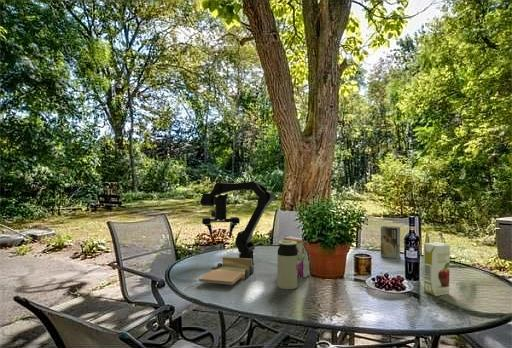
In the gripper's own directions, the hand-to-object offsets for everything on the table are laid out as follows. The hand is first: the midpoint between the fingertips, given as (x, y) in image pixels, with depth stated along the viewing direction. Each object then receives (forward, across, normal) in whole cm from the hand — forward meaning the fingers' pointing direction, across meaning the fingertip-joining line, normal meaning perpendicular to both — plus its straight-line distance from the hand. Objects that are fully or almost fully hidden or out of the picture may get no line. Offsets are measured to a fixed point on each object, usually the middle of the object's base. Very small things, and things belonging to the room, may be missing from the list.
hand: (220, 237), depth 194 cm
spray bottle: (+12, -30, +32) cm, 46 cm away
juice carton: (+12, -75, +66) cm, 101 cm away
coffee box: (+12, -92, +7) cm, 93 cm away
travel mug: (+12, -21, +48) cm, 54 cm away
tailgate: (+10, +1, +32) cm, 33 cm away
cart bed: (+12, -2, +26) cm, 29 cm away
